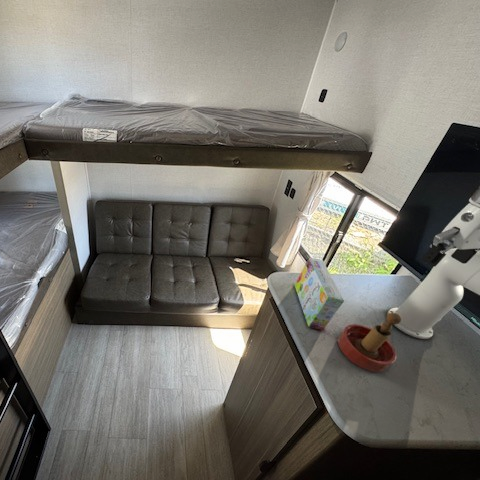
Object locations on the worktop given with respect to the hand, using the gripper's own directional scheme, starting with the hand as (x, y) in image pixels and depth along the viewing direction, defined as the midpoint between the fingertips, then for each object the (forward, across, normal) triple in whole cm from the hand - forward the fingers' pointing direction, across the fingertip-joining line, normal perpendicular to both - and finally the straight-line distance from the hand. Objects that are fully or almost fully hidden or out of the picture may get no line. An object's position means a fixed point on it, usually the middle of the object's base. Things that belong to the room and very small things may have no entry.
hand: (442, 261), depth 64 cm
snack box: (+34, -12, +16) cm, 40 cm away
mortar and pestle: (+34, -7, -3) cm, 35 cm away
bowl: (+34, -7, -3) cm, 35 cm away
